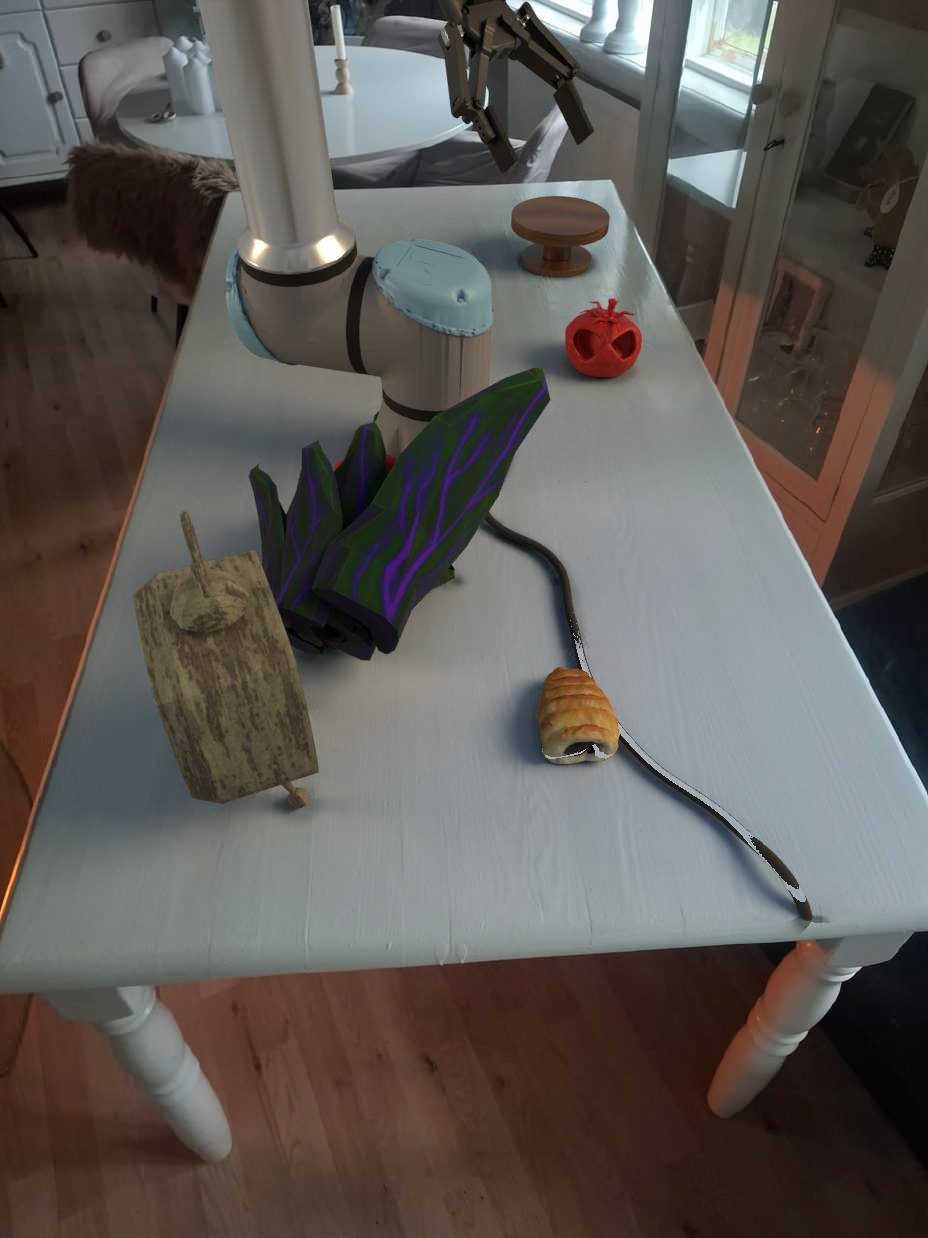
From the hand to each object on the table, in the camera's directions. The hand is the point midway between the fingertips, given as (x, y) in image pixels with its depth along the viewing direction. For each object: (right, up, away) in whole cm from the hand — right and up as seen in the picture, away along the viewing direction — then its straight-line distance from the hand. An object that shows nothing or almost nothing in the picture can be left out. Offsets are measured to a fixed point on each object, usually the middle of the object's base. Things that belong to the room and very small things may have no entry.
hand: (549, 152), depth 103 cm
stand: (+4, +1, +33) cm, 34 cm away
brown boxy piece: (-28, -68, -33) cm, 80 cm away
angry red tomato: (+8, -22, +12) cm, 26 cm away
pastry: (-1, -66, -30) cm, 72 cm away
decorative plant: (-19, -53, -18) cm, 58 cm away
